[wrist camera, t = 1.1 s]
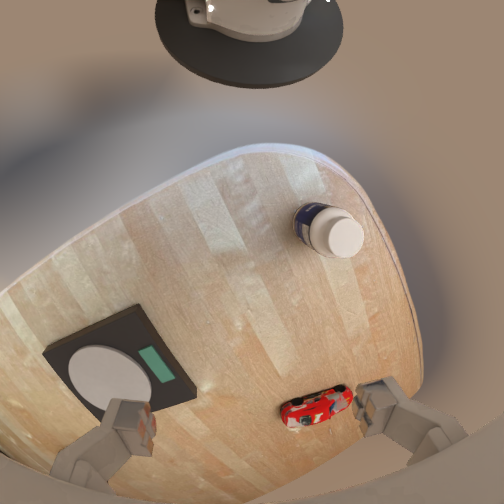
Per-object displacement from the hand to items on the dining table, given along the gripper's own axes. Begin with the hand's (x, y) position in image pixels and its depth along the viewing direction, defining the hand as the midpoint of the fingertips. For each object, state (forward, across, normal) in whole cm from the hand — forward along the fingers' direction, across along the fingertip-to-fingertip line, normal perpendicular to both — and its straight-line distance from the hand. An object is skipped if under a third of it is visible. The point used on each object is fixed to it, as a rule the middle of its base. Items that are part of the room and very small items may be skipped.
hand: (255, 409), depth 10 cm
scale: (+24, +19, +18) cm, 36 cm away
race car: (+26, -12, +30) cm, 42 cm away
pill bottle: (+27, -10, -1) cm, 29 cm away
